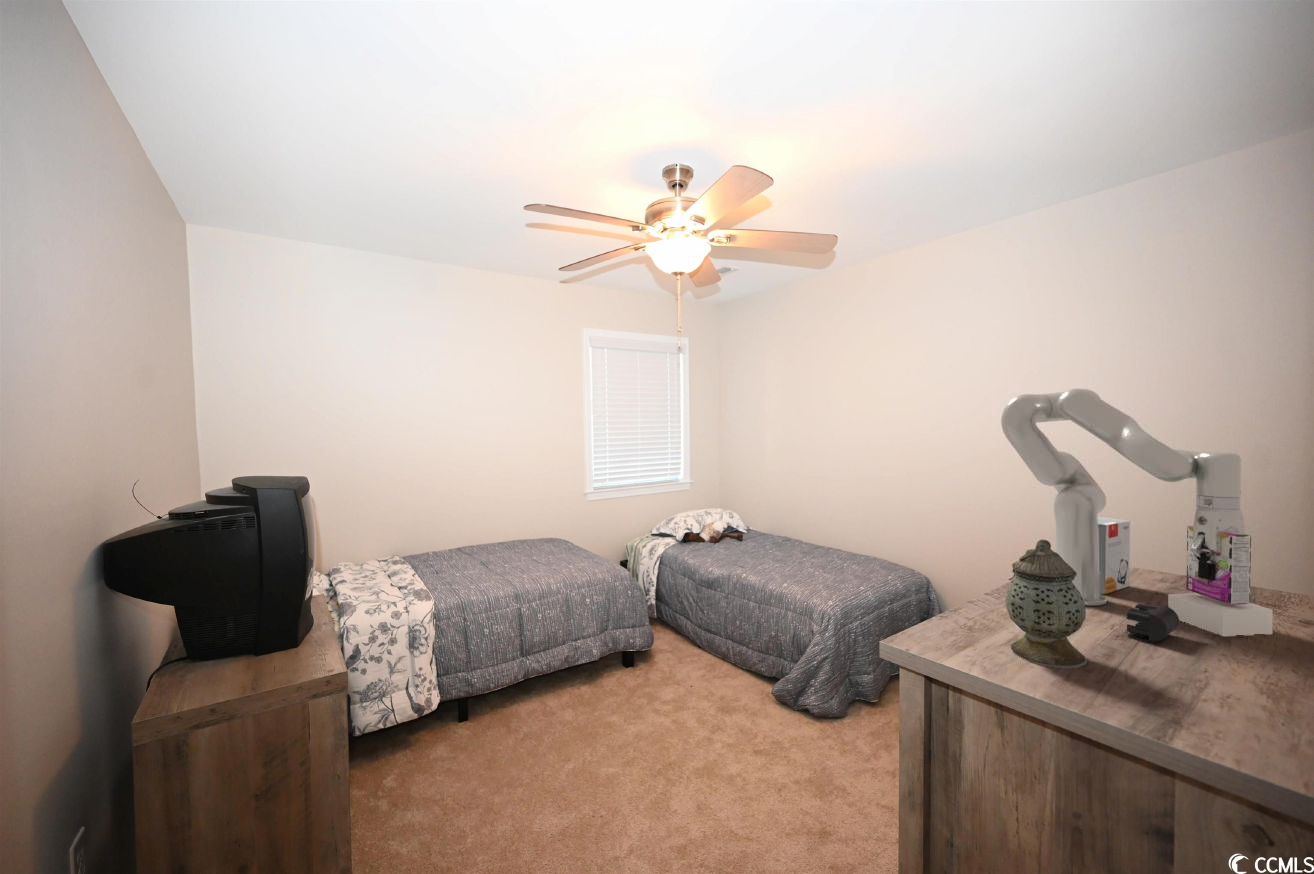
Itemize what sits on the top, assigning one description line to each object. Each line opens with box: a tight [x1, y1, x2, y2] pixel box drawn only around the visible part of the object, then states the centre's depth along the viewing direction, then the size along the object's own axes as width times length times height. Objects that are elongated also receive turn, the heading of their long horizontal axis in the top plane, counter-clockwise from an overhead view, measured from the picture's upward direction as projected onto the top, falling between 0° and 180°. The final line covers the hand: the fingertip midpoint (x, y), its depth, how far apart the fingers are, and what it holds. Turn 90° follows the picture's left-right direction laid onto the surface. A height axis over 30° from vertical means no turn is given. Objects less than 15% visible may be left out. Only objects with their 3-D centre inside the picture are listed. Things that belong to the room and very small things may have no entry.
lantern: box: [1005, 539, 1088, 670], centre depth 121 cm, size 14×14×25 cm
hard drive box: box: [1097, 516, 1131, 595], centre depth 165 cm, size 16×8×20 cm, turn 119°
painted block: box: [1167, 592, 1274, 637], centre depth 135 cm, size 12×13×6 cm
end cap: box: [1126, 603, 1180, 644], centre depth 129 cm, size 10×7×7 cm
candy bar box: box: [1185, 525, 1252, 604], centre depth 134 cm, size 11×5×16 cm, turn 0°
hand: (1217, 577), depth 135 cm, fingers open, 5 cm apart
